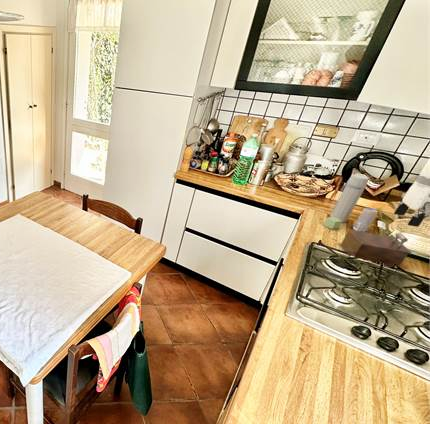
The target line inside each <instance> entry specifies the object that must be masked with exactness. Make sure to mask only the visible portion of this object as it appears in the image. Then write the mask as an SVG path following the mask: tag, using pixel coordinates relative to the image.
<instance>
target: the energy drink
mask: <svg viewBox="0 0 430 424" xmlns="http://www.w3.org/2000/svg"><path fill="white" fill-rule="evenodd" d="M378 214H379V210H378V209H375V208H373V207H364V208H363V209H362V211H361V213H360V214H359V216H358V218H357V219H356V222H355V223H354V225H353V227H352V230H355V231H361V232H366V233H368V230H369V228H370V227H371V225H372V224H373V222H374V221H375V219H376V217H377V215H378Z"/></svg>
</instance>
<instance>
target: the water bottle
mask: <svg viewBox="0 0 430 424" xmlns="http://www.w3.org/2000/svg"><path fill="white" fill-rule="evenodd" d="M369 180H370V177H368V176H366V175H363V174H357V173H352V174H351V175H350V177H349V179H348V180H347V182H344V183H343V186H342V188H341V189H339V190H340V191H339V192H338V193H337V195H336V196H335V198H334V199H332V202H331V203H330V205H329V209H330V210H332V212H331V213H330V215H329V217H335V218H337V219H339V220H341V221H342V223H345V222H347V221H348V220H349V217H350V216H351V214H352V212H353V210H354V209H355V207H356V205H357V203H358V201H359V200H360V198H361V197H362V194H363V193H364V190H365V189H366V187H367V184H368V182H369ZM336 198H337V200H336ZM335 200H336V201H335ZM334 201H335V203H334ZM333 203H334V206H333V207H331V206H332V204H333Z"/></svg>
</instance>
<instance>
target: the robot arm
mask: <svg viewBox="0 0 430 424" xmlns="http://www.w3.org/2000/svg"><path fill="white" fill-rule="evenodd" d="M409 208H410V209H411V210H412V211H414V215H412V216H411V218H410V219H409V221H407V226H409V227H416V228H417V227H420V226H421V224H422V223H423V221H424V219H427V218H428V217H430V157H429V159H428V160H427V162H426V163H425V165H424V166H423V168H422V169H421V170H420V173H419V174H418V176H417V177H416V179H415V180H414V183H412V184H411V186H410V187H409V188H408V190H407V191H406V192H403V193H402V194H401V198H400V199H399V202H398V206H397V207H396V208H395V211H394V212H393V215H397V216H405V215H406V213H407V212H408V210H409Z"/></svg>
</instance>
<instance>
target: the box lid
mask: <svg viewBox="0 0 430 424" xmlns="http://www.w3.org/2000/svg"><path fill="white" fill-rule="evenodd" d="M348 231H349V232H350V233H351V234H352V236H353V237H354V238H355V239H356V240H357V241H358V243H359V244H360V245H361V246H367V247H372V248H378V249H383V250H389V251H395V252H400V253H406V254H408V255H412V251H411V250H409V248H407V247H406V246H405V245H404V244H405V243H406V242H408V241H409V239H408V238H407V237H406V236H404V234H403V233H401V232H396V233H395V234H394V236H395V237H394V236H390V235H384V234H378V233H372V232H361V231H355V230H354V229H348Z"/></svg>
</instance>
